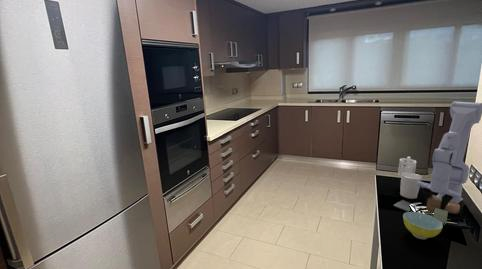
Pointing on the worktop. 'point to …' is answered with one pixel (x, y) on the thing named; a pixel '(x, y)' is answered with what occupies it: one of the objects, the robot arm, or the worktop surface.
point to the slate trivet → (403, 205)
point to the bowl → (422, 225)
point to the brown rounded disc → (452, 207)
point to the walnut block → (433, 203)
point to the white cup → (409, 185)
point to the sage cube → (440, 215)
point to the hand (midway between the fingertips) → (434, 208)
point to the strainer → (408, 166)
